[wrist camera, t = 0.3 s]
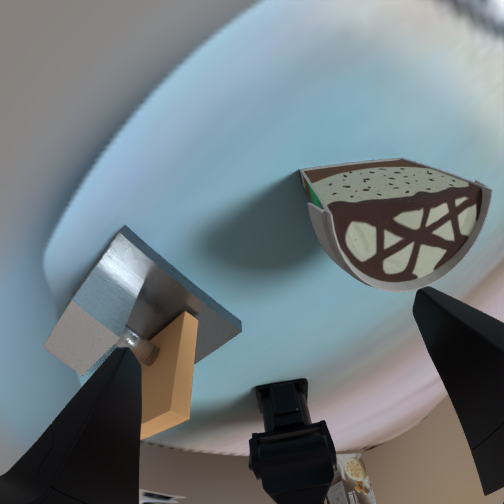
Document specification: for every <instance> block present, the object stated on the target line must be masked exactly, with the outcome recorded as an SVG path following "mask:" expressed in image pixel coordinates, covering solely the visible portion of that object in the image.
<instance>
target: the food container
mask: <svg viewBox="0 0 504 504" xmlns="http://www.w3.org/2000/svg"><path fill="white" fill-rule="evenodd" d="M299 171H300V176H301V181H302V184H303V186H304V188H305V190H306V192H307V193H308V195H309V197H310V199H311V201H312V203H313V204H312V203H307V205H308V210H309V215H310V220H311V223H312V225H313V228H314V231H315V234H316V236H317V238H318V240H319V242H320V243H321V245H322V247H323V249H324V250H325V252H326V253H327V254H328V255H329V256H330V258H331V259H332V260H333V261H334V262H335V263H336V264H337V265H339V266H340V267H341V268H342V269H343V270H345V271H346V272H347V273H349V274H350V275H351V276H352V277H354V278H355V279H357V280H359V281H360V282H362V283H364V284H366V285H368V286H371V287H374V288H377V289H381V290H384V291H389V292H409V291H414V290H418V289H420V288H423V287H426V286H429V285H431V284H433V283H435V282H437V281H438V280H440V279H442V278H443V277H445V276H446V275H447V274H448V273H450V272H451V271H452V270H453V269H454V268H455V267H456V266H457V265H459V264H460V263H461V261H462V260H463V259H464V258H465V257H466V255H467V254H468V253H469V252H470V250H471V249H472V247H473V245H474V244H475V242H476V241H477V239H478V237H479V235H480V233H481V231H482V229H483V226H484V224H485V221H486V218H487V215H488V211H489V207H490V203H491V197H492V190H491V189H489V188H488V187H487V186H486V185H484V184H482V183H480V182H479V181H477V180H475V182H472V181H470V180H467V179H464V178H462V177H459V176H456V175H454V174H451V173H448V172H445V171H442V170H439V169H436V168H433V167H430V166H427V165H424V164H421V163H417V162H414V161H411V160H407V159H404V158H392V159H380V160H370V161H360V162H351V163H342V164H334V165H326V166H319V167H312V168H305V169H299Z"/></svg>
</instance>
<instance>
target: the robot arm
mask: <svg viewBox="0 0 504 504" xmlns="http://www.w3.org/2000/svg"><path fill="white" fill-rule="evenodd" d="M413 316H414V318H415V320H416V323H417V325H418V328H419V330H420V332H421V335H422V337H423V340H424V343H425V345H426V348H427V350H428V352H429V355H430V357H431V359H432V361H433V363H434V365H435V367H436V369H437V371H438V373H439V375H440V377H441V379H442V381H443V384H444V386H445V388H446V390H447V392H448V394H449V397H450V399H451V401H452V404H453V406H454V408H455V411H456V413H457V415H458V418H459V420H460V423H461V425H462V428H463V431H464V433H465V436H466V438H467V441H468V444H469V447H470V450H471V453H472V456H473V459H474V462H475V465H476V468H477V471H478V474H479V478H480V481H481V485H482V488H483V492H484V495H485V496H486V495H489V494H491V493H493V492H495V491H497V490H499V489H501V488H503V487H504V323H503V322H501V321H499V320H497V319H495V318H493V317H491V316H489V315H487V314H485V313H483V312H481V311H479V310H477V309H475V308H473V307H471V306H469V305H467V304H465V303H463V302H461V301H459V300H457V299H455V298H453V297H451V296H449V295H447V294H445V293H442V292H440V291H438V290H436V289H434V288H432V287H429V286H427V287H423V288H420V289H418V290H417V292H416V296H415V301H414V305H413ZM255 391H256V395H257V400H258V404H259V409H260V413H262V414H263V421H264V429H265V432H264V433H252V438H251V439H250V440H249V447H250V455H249V469H250V470H251V471H253V472H254V474H255V475H256V478H257V480H262V485H263V489H264V490H265V491H266V493H267V494H268V495H269V496H270V497H271V498H272V499H273V500H274V501H275V502H276V503H277V504H324V500H325V498H326V496H327V493H328V491H329V488H330V486H331V484H332V481H333V479H334V475H335V474H334V469H333V466H336V465H337V457H336V451H335V447H334V444H333V441H332V438H331V435H330V433H329V430H328V427H327V425H326V422H325V420H323V421H320V422H317V423H313V424H312V422H311V418H310V414H309V410H308V406H307V396H308V381H307V379H300V380H295V381H289V382H283V383H277V384H271V385H264V386H258V387H256V388H255ZM141 421H142V368H141V364H140V362H139V361H138V359H137V358H136V356H135V355H134V353H133V352H132V350H131V349H130V348H129V347H118V348H116V349H115V350H114V351H113V352H112V353H111V354H110V355H109V357H108V358H107V359H106V360H105V361H104V362H103V363H102V365H101V366H100V367H99V368H98V369H97V370H96V371H95V372H94V374H93V375H92V376H91V377H90V378H89V379H88V381H87V382H86V383H85V384H84V385H83V386H82V388H81V389H80V390H79V391H78V392H77V393H76V395H75V396H74V397H73V398H72V399H71V400H70V402H69V403H68V404H67V405H66V406H65V408H64V409H63V410H62V411H61V412H60V414H59V415H58V416H57V417H56V418H55V420H54V421H53V422H52V424H50V426H49V427H48V428H47V429H46V431H45V432H44V433H43V434H42V435H41V437H40V438H39V439H38V440H37V441H36V442H35V443H34V444H33V445H32V447H31V448H30V449H29V450H28V451H27V452H26V453H25V454H24V455H23V456H22V457H21V458H20V459H19V460H18V461H17V462H16V463H15V464H14V466H13V467H12V468H11V469H10V470H9V471H8V472H6V473H5V474H3V475H1V476H0V504H139V456H140V436H141ZM503 504H504V503H503Z"/></svg>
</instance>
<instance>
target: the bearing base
mask: <svg viewBox="0 0 504 504" xmlns="http://www.w3.org/2000/svg"><path fill="white" fill-rule="evenodd" d="M66 307H67V308H66V310H65V311H64V313H63V314H62V316H61V318H60V319H59V321H58V322H57V324H56V326H55V327H54V329H53V330H52V332H51V334H50V335H49V337H48V339H47V341H46V342H45V344H44V346H43V347H44V348H45V349H47V350H48V351H49V352H50V353H52V354H53V355H54V356H56V357H57V358H58V359H60V360H61V361H62V362H64V363H65V364H67V365H68V366H70V367H71V368H72V369H73V370H75V371H76V372H78V373H79V374H81V375H82V376H83V375H84V374H85V373H86V372H87V371H88V370H89V369H90V368H91V367H92V366H93V365H94V364H95V363H96V362H97V361H98V360H99V359H100V358H101V357H102V356H103V355H104V354H105V353H106V352H107V351H108V350H109V349H110V348H111V347H112V346H113V345H114V344H115V343H116V342H117V341H118V340H119V339H120V338H121V336H122V333H123V331H124V328H125V326H126V325H127V326H129V327H130V328H132V329H133V330H134V331H136V332H137V333H139V334H140V335H141V336H143V337H144V338H146V339H147V340H149V341H150V340H151V339H153V338H154V337H155V336H156V335H157V334H158V333H160V332H161V331H162V330H163V329H164V328H166V327H167V326H168V325H169V324H170V323H172V322H173V321H174V320H175V319H176V318H177V317H179V316H180V315H181V314H182V313H183V312H185V311H186V312H188V313H189V314H190V315H192V316H193V317H194V318H196V319H197V320H198V329H197V338H196V348H195V358H194V364H196V363H197V362H199V361H200V360H202V359H203V358H205V357H206V356H207V355H209V354H210V353H212V352H213V351H215V350H216V349H218V348H219V347H221V346H222V345H223V344H225V343H226V342H228V341H229V340H231V339H232V338H233V337H235V336H236V335H238V334H239V333H241V332H242V326H241V321H240V320H239V319H238V318H236V317H235V316H234V315H233V314H231V313H230V312H229V311H227V310H226V309H225V308H223V307H222V306H221V305H220V304H218V303H217V302H216V301H215V300H213V299H212V298H211V297H210V296H208V295H207V294H206V293H204V292H203V291H202V290H201V289H200V288H198V287H197V286H196V285H195V284H193V283H192V282H191V281H190V280H188V279H187V278H186V277H185V276H184V275H182V274H181V273H180V272H179V271H178V270H176V269H175V268H174V267H173V266H172V265H170V264H169V263H168V262H167V261H166V260H165V259H163V258H162V257H161V256H160V255H159V254H157V253H156V252H155V251H154V250H153V249H152V248H151V247H149V246H148V245H147V244H146V243H145V242H144V241H143V240H141V239H140V238H139V237H138V236H137V235H136V234H135V233H134V232H132V231H131V230H130V229H129V228H128V227H127V226H126V225H125V226H124V227H123V228H122V229H121V231H120V232H119V233H118V234H117V236H116V237H115V238H114V239H113V241H112V242H111V243H110V244H109V246H108V247H107V248H106V250H105V251H104V252H103V254H102V255H101V256H100V258H99V259H98V260H97V262H96V263H95V264H94V266H93V267H92V268H91V270H90V271H89V273H88V274H87V275H86V277H85V278H84V280H83V281H82V282H81V284H80V285H79V287H78V288H77V290H76V291H75V293H74V294H73V296H72V297H71V299H70V300H69V302H68V303H67V305H66Z"/></svg>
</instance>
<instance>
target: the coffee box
mask: <svg viewBox="0 0 504 504" xmlns="http://www.w3.org/2000/svg"><path fill="white" fill-rule="evenodd" d="M336 457H337V465H336V466H333V469H334V474H335V475H334V479H333V481H332V484H331V486H330V488H329V491H328V493H327V496H326V500H327V504H377V503H376V500H375V497H374V494H373V491H372V487H371V484H370V481H369V478H368V475H367V472H366V469H365V466H364V463H363V460H362V457H361V454H360V453H352V454H336Z"/></svg>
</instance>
